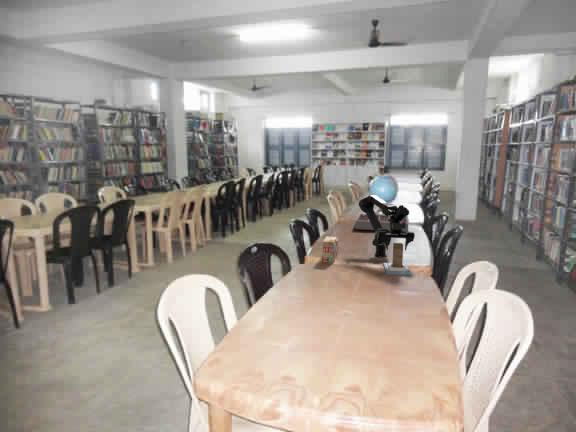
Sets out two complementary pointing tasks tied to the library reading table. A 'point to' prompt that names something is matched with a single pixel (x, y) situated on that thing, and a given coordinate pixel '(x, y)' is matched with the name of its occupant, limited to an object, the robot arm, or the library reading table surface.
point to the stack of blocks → (330, 249)
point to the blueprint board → (397, 270)
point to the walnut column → (397, 255)
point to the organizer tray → (365, 224)
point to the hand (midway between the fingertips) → (396, 250)
